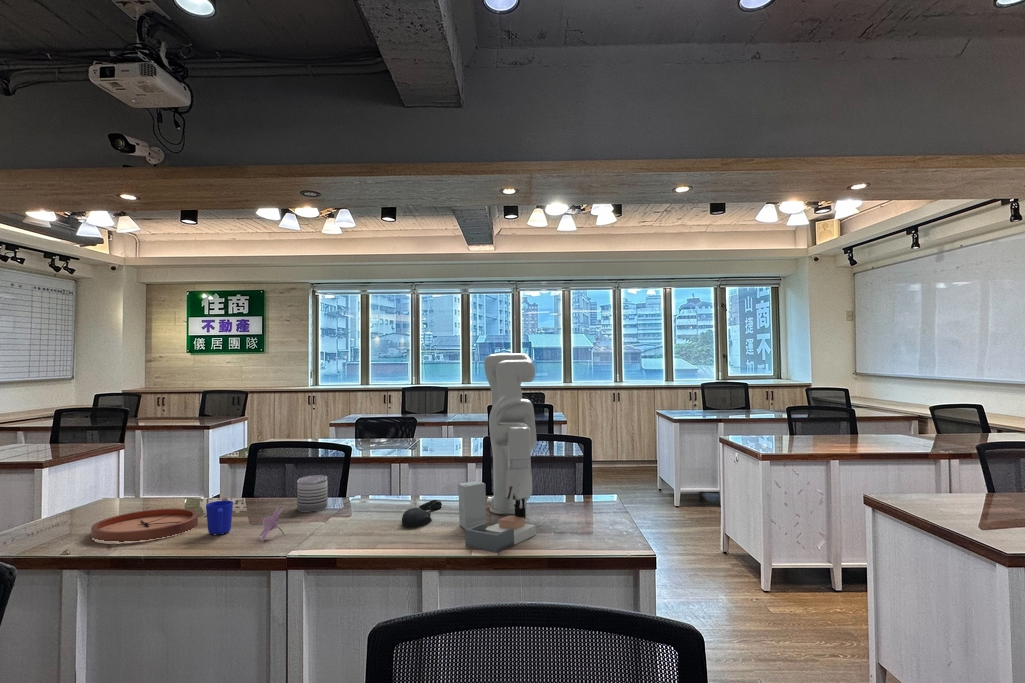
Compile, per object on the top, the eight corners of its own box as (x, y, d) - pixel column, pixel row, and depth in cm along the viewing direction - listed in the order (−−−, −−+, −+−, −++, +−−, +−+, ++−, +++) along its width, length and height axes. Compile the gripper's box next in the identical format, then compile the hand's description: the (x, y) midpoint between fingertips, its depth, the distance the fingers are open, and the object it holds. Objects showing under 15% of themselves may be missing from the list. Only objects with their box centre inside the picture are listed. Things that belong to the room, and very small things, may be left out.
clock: (67, 529, 195) (149, 506, 225) (67, 541, 195) (149, 517, 225) (143, 535, 186) (218, 510, 217) (143, 548, 186) (218, 522, 216)
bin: (465, 546, 183) (465, 529, 183) (483, 538, 190) (483, 522, 191) (496, 552, 176) (496, 535, 176) (514, 544, 184) (513, 528, 184)
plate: (483, 538, 190) (483, 529, 191) (505, 529, 201) (505, 520, 201) (514, 544, 184) (514, 534, 184) (535, 534, 194) (535, 525, 194)
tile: (499, 527, 193) (498, 519, 193) (509, 522, 197) (509, 515, 198) (514, 529, 189) (514, 522, 189) (524, 525, 194) (524, 517, 194)
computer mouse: (397, 529, 204) (397, 513, 204) (423, 506, 236) (423, 492, 236) (423, 529, 203) (423, 513, 203) (447, 506, 235) (446, 492, 235)
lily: (266, 534, 202) (252, 512, 199) (299, 519, 203) (286, 497, 200) (260, 556, 191) (245, 533, 187) (295, 540, 192) (281, 517, 189)
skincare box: (480, 522, 210) (479, 479, 210) (487, 526, 204) (486, 483, 205) (458, 525, 206) (457, 482, 206) (464, 529, 201) (463, 485, 201)
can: (333, 507, 235) (333, 476, 235) (310, 513, 225) (310, 481, 225) (314, 503, 241) (314, 474, 241) (290, 509, 231) (290, 478, 232)
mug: (206, 541, 192) (206, 510, 192) (205, 531, 203) (206, 502, 203) (234, 537, 196) (234, 506, 196) (232, 528, 206) (232, 499, 207)
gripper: (522, 459, 206) (523, 513, 205) (497, 466, 194) (498, 523, 193) (540, 461, 202) (541, 515, 201) (516, 468, 190) (517, 526, 189)
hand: (520, 519), depth 197 cm, fingers closed
